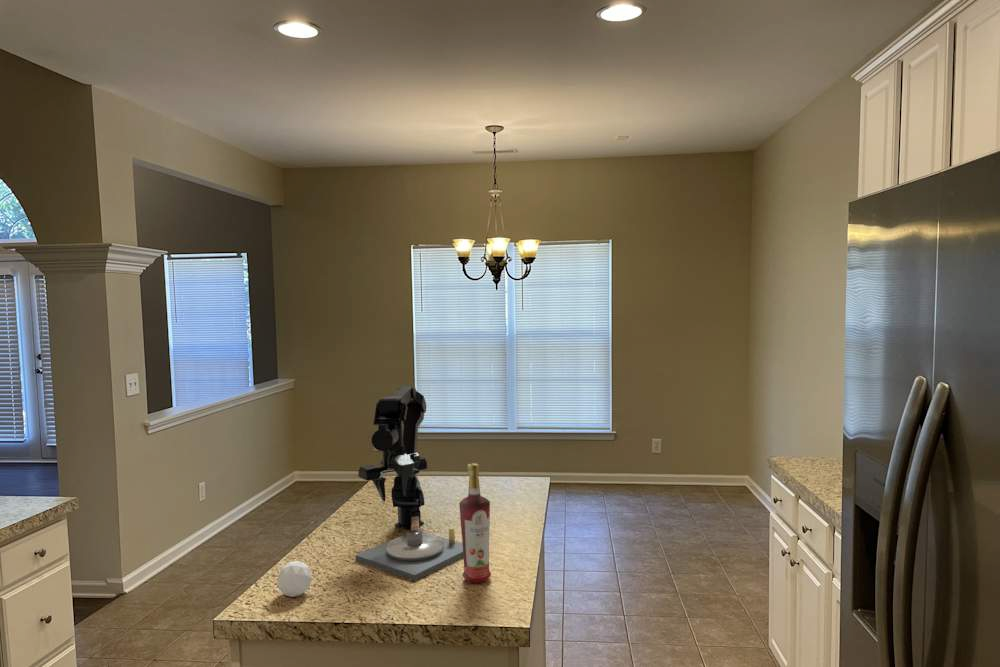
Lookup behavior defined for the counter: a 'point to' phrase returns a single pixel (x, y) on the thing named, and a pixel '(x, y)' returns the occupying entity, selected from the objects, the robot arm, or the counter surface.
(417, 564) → the post plate
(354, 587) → the counter surface
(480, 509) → the liquor
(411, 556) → the grey disc with handle
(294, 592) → the ball
